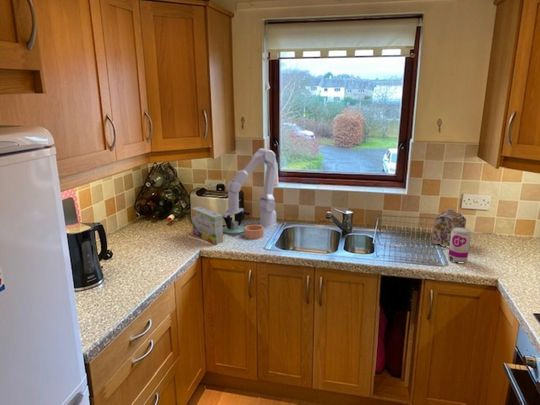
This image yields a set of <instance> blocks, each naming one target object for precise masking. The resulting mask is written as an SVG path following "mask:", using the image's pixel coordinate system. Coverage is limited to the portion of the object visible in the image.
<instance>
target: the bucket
mask: <svg viewBox="0 0 540 405" xmlns="http://www.w3.org/2000/svg"><path fill="white" fill-rule="evenodd" d="M244 227H245V228H244V233H243V236H244V238H246V239H249V240H258V239H262V238H264V232H265V229H264V228H265V227H263V226H260V225H258V224H248V225H245V226H244Z"/></svg>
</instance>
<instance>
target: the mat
mask: <svg viewBox="0 0 540 405" xmlns="http://www.w3.org/2000/svg"><path fill="white" fill-rule="evenodd" d="M223 235H227V236H230V237H233V238H235V237H237V236H240V235H244V232H243V233H239V234H228V233H224V232H223Z"/></svg>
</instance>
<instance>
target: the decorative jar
mask: <svg viewBox="0 0 540 405" xmlns="http://www.w3.org/2000/svg"><path fill="white" fill-rule="evenodd" d="M466 223H467V219H466V218H465V217H464V215H463V214H462V213H458V212H457V210H456V209H446V211H441V212H438V214H437V215H436V216H435V217H434V221H433V228H432V235H431V236H432V237H431V243H432V245H433V244H434V245H436V244H440V245H445V246H450V239H451V232H452V230H453V229H454V228H457V227H458V228H466V225H467V224H466ZM440 245H439V246H440Z"/></svg>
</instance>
